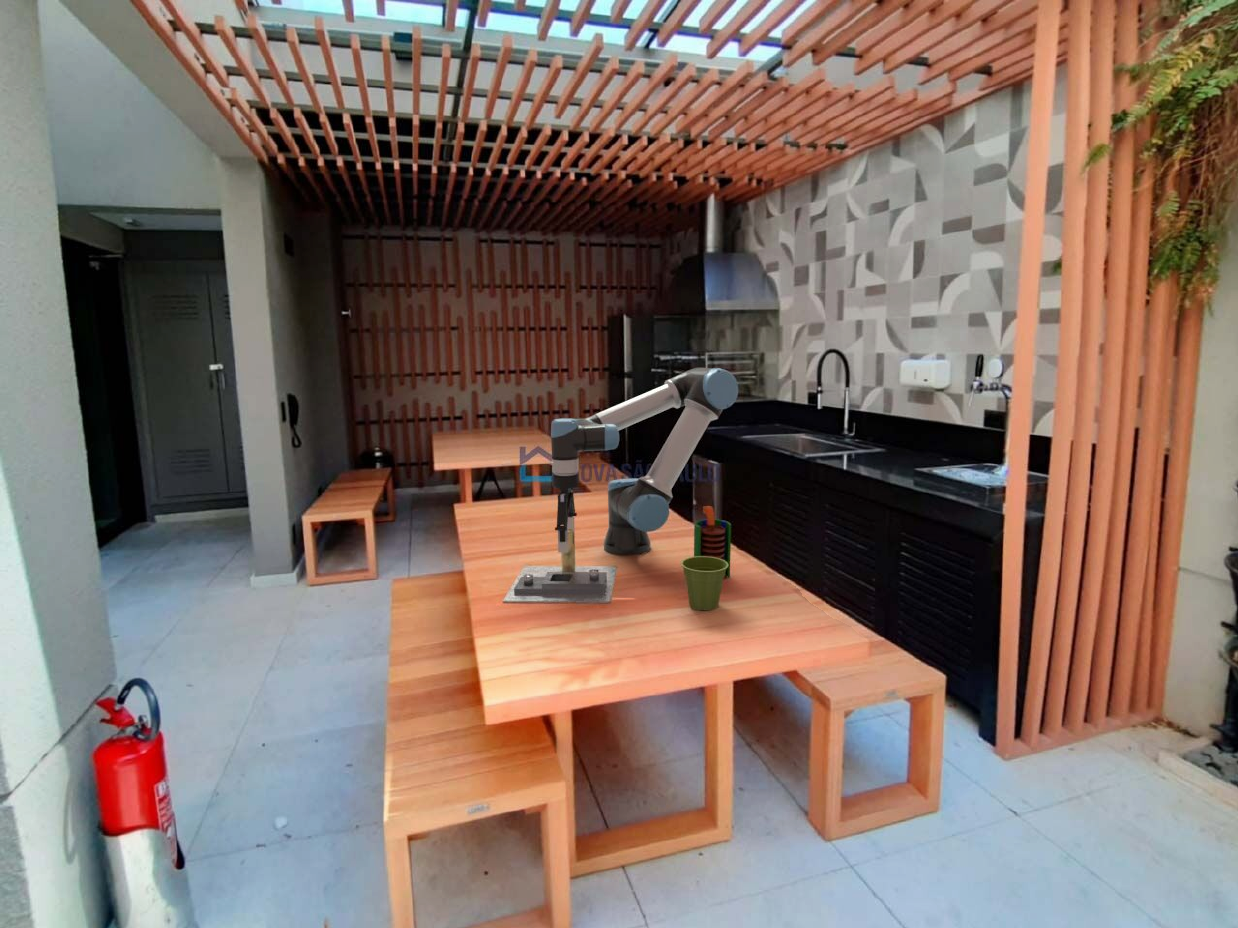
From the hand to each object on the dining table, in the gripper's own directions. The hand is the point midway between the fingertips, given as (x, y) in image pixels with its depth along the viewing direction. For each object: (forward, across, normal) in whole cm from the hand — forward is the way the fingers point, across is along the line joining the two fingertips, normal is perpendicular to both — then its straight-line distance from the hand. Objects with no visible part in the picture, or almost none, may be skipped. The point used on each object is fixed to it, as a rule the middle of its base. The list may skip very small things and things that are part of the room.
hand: (566, 545), depth 191 cm
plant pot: (+8, +24, +38) cm, 46 cm away
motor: (+8, +3, +41) cm, 42 cm away
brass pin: (+8, 0, 0) cm, 8 cm away
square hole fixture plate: (+8, +9, 0) cm, 13 cm away
